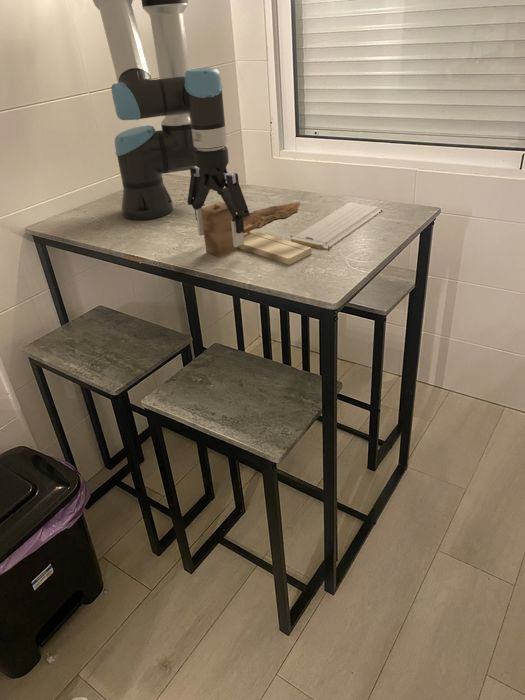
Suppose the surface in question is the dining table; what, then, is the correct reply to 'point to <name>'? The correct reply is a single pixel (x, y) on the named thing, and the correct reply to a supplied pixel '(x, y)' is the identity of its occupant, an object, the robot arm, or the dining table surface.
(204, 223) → the block
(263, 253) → the board
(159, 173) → the robot arm
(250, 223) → the wooden fragment
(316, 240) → the baseboard molding
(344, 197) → the dining table surface
